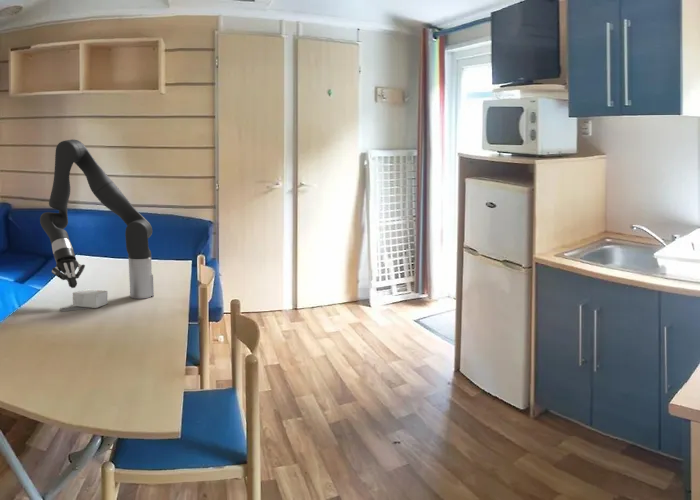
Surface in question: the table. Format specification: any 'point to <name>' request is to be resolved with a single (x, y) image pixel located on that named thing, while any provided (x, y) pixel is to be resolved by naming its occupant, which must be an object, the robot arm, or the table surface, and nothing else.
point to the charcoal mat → (74, 308)
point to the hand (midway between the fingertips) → (73, 286)
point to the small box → (90, 298)
